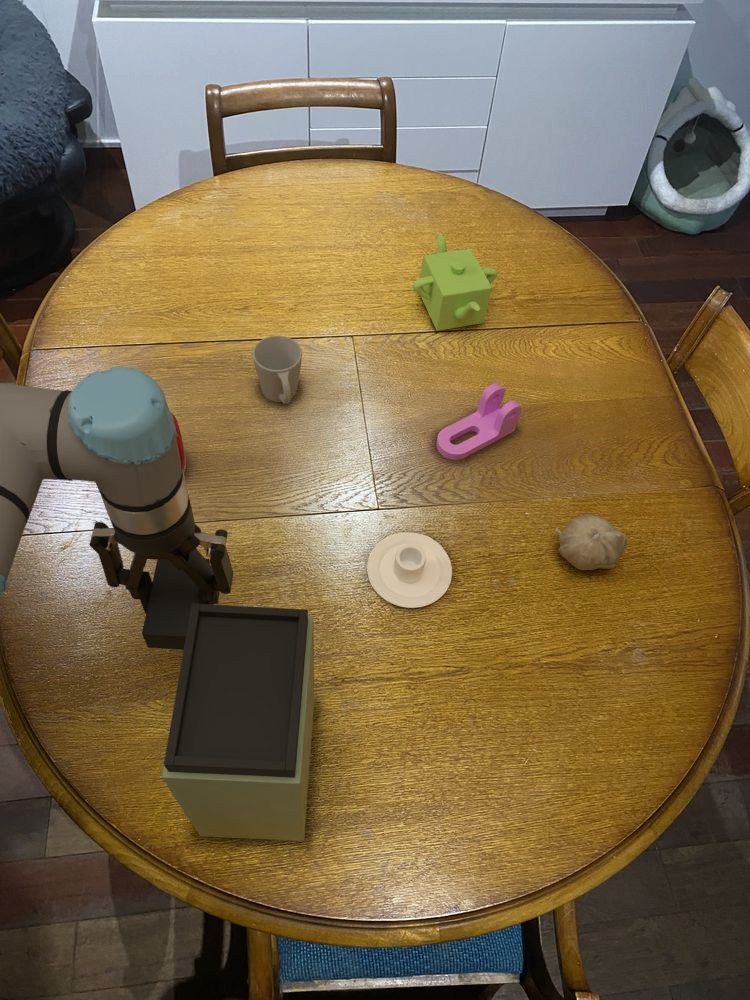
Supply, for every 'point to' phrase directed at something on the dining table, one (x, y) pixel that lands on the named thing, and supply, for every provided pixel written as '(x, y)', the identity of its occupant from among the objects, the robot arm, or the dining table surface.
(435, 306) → the green knobbed cube
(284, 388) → the cup
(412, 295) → the dining table surface
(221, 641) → the base pad
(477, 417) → the bracket
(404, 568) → the candle holder
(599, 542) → the garlic bulb
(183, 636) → the top pad
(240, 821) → the tray
